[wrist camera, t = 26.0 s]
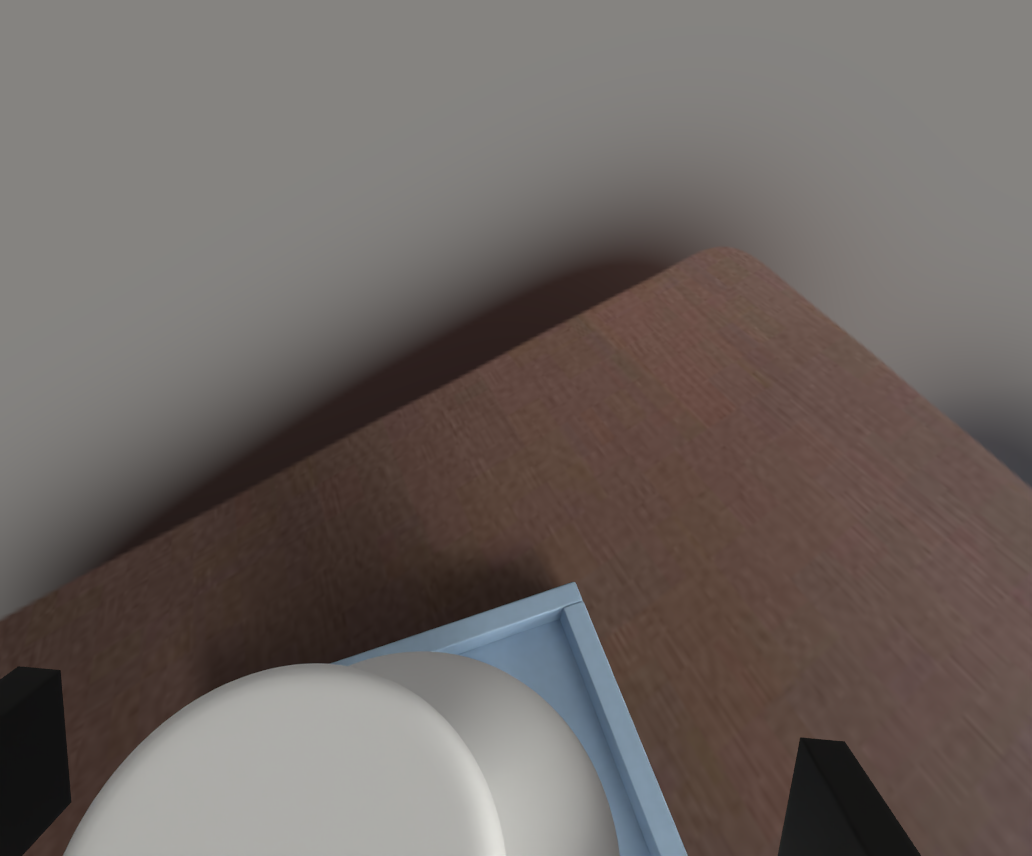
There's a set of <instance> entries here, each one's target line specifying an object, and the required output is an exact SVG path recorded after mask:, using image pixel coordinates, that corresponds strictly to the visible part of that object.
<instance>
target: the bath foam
mask: <svg viewBox="0 0 1032 856" xmlns="http://www.w3.org/2000/svg"><path fill="white" fill-rule="evenodd" d="M63 856H620V853H619V846H618V840H617V835H616V830H615V825H614V821H613V817H612V813H611V810H610V806H609V803H608V800H607V797H606V794H605V791H604V789H603V786H602V783H601V781H600V779H599V776H598V774H597V772H596V770H595V768H594V766H593V764H592V762H591V760H590V758H589V756H588V754H587V753H586V751H585V749H584V748H583V746H582V744H581V743H580V741H579V740H578V738H577V737H576V735H575V734H574V732H573V731H572V730H571V728H570V727H569V726H568V725H567V723H566V722H565V721H564V720H563V718H562V717H561V716H560V715H559V714H558V713H557V712H556V711H555V710H554V709H553V708H552V707H551V705H549V704H548V703H547V702H546V701H545V700H544V699H543V698H542V697H541V696H540V695H538V694H537V693H536V692H535V691H533V690H532V689H531V688H529V687H528V686H527V685H525V684H524V683H522V682H521V681H519V680H518V679H516V678H514V677H513V676H511V675H509V674H508V673H506V672H504V671H502V670H500V669H498V668H496V667H494V666H491V665H489V664H486V663H484V662H481V661H478V660H475V659H472V658H468V657H464V656H460V655H455V654H449V653H442V652H428V651H418V652H403V653H394V654H388V655H383V656H378V657H374V658H370V659H367V660H364V661H360V662H358V663H355V664H352V665H350V666H343V665H335V664H321V663H311V664H296V665H288V666H282V667H277V668H272V669H268V670H264V671H260V672H257V673H254V674H250V675H248V676H245V677H242V678H239V679H237V680H234V681H231V682H229V683H227V684H225V685H222V686H220V687H218V688H216V689H214V690H212V691H210V692H209V693H207V694H205V695H203V696H201V697H200V698H198V699H196V700H195V701H193V702H192V703H190V704H188V705H187V706H185V707H184V708H182V709H181V710H180V711H178V712H177V713H175V714H174V715H173V716H171V717H170V718H169V719H168V720H166V721H165V722H164V723H163V724H161V725H160V726H159V727H158V728H157V729H155V730H154V731H153V732H152V733H151V734H150V735H149V736H148V737H147V738H146V739H145V740H144V741H143V742H141V743H140V744H139V745H138V746H137V747H136V748H135V750H134V751H133V752H132V753H131V754H130V755H129V756H128V757H127V758H126V759H125V760H124V761H123V763H122V764H121V765H120V766H119V767H118V769H117V770H116V771H115V772H114V773H113V775H112V776H111V777H110V778H109V780H108V781H107V782H106V784H105V785H104V786H103V788H102V789H101V791H100V792H99V793H98V795H97V796H96V798H95V799H94V801H93V802H92V804H91V805H90V807H89V808H88V810H87V812H86V813H85V815H84V817H83V818H82V820H81V822H80V823H79V825H78V827H77V829H76V831H75V833H74V834H73V836H72V838H71V840H70V842H69V844H68V846H67V848H66V850H65V853H64V855H63Z"/></svg>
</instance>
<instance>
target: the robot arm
mask: <svg viewBox="0 0 1032 856" xmlns="http://www.w3.org/2000/svg"><path fill="white" fill-rule="evenodd" d="M70 803H71V793H70V781H69V769H68V756H67V744H66V732H65V720H64V707H63V695H62V683H61V670H52V669H41V668H31V667H20V666H18V667H17V668H16V669H14V670H13V671H11V672H10V673H9V674H7V675H6V676H4V677H3V678H2V679H0V856H22V855H23V854H24V853H25V852H26V851H27V850H28V849H29V848H30V846H31V845H32V844H33V843H34V842H35V841H36V840H37V839H38V838H39V837H40V836H41V834H42V833H43V832H44V831H45V830H46V829H47V828H48V827H49V826H50V825H51V824H52V822H53V821H54V820H55V819H56V818H57V817H58V816H59V815H60V814H61V813H62V812H63V810H64V809H65V808H66V807H67V806H68V805H69V804H70ZM778 856H921V855H920V853H919V852H918V850H917V849H916V847H915V846H914V844H913V843H912V841H911V840H910V838H909V837H908V835H907V834H906V832H905V831H904V830H903V828H902V827H901V825H900V824H899V822H898V821H897V819H896V818H895V816H894V815H893V813H892V812H891V810H890V809H889V807H888V806H887V804H886V803H885V801H884V800H883V798H882V797H881V795H880V794H879V792H878V791H877V789H876V788H875V786H874V785H873V783H872V782H871V780H870V779H869V777H868V776H867V774H866V773H865V771H864V770H863V768H862V767H861V765H860V764H859V762H858V761H857V759H856V758H855V756H854V755H853V753H852V752H851V750H850V749H849V747H848V746H847V744H846V743H845V742H843V741H832V740H821V739H810V738H800V742H799V747H798V753H797V758H796V763H795V768H794V774H793V779H792V784H791V789H790V795H789V800H788V805H787V810H786V816H785V821H784V826H783V831H782V837H781V842H780V847H779V852H778Z"/></svg>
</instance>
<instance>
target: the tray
mask: <svg viewBox="0 0 1032 856" xmlns="http://www.w3.org/2000/svg"><path fill="white" fill-rule="evenodd" d="M418 651H428V652H442V653H449V654H455V655H460V656H464V657H468V658H472V659H475V660H478V661H481V662H484V663H486V664H489V665H491V666H494V667H496V668H498V669H500V670H502V671H504V672H506V673H508V674H509V675H511V676H513V677H514V678H516V679H518V680H519V681H521V682H522V683H524V684H525V685H527V686H528V687H529V688H531V689H532V690H533V691H535V692H536V693H537V694H538V695H540V696H541V697H542V698H543V699H544V700H545V701H546V702H547V703H548V704H549V705H551V707H552V708H553V709H554V710H555V711H556V712H557V713H558V714H559V715H560V716H561V717H562V718H563V720H564V721H565V722H566V723H567V725H568V726H569V727H570V728H571V730H572V731H573V732H574V734H575V735H576V737H577V738H578V740H579V741H580V743H581V744H582V746H583V748H584V749H585V751H586V753H587V754H588V756H589V758H590V760H591V762H592V764H593V766H594V768H595V770H596V772H597V774H598V776H599V779H600V781H601V783H602V786H603V789H604V791H605V794H606V797H607V800H608V803H609V806H610V810H611V813H612V817H613V821H614V825H615V830H616V835H617V840H618V846H619V853H620V856H688V855H687V853H686V850H685V848H684V846H683V843H682V841H681V838H680V836H679V833H678V831H677V829H676V826H675V824H674V821H673V819H672V816H671V814H670V811H669V809H668V807H667V804H666V802H665V799H664V797H663V794H662V792H661V790H660V787H659V785H658V782H657V780H656V777H655V775H654V773H653V770H652V768H651V765H650V763H649V760H648V758H647V755H646V753H645V751H644V748H643V746H642V743H641V741H640V738H639V736H638V734H637V731H636V729H635V726H634V724H633V721H632V719H631V716H630V714H629V712H628V709H627V707H626V704H625V702H624V699H623V697H622V695H621V692H620V690H619V687H618V685H617V682H616V680H615V677H614V675H613V673H612V670H611V668H610V665H609V663H608V660H607V658H606V656H605V653H604V651H603V648H602V646H601V643H600V641H599V638H598V636H597V634H596V631H595V629H594V626H593V624H592V621H591V619H590V617H589V614H588V612H587V609H586V607H585V604H584V602H583V601H582V597H581V595H580V593H579V590H578V588H577V585H576V583H575V582H571V583H568V584H565V585H562V586H559V587H556V588H553V589H550V590H548V591H545V592H542V593H539V594H536V595H533V596H530V597H527V598H524V599H521V600H518V601H515V602H512V603H509V604H506V605H503V606H500V607H497V608H494V609H491V610H488V611H485V612H482V613H479V614H476V615H473V616H470V617H467V618H464V619H461V620H458V621H455V622H452V623H449V624H446V625H443V626H440V627H437V628H435V629H432V630H429V631H426V632H423V633H420V634H417V635H414V636H411V637H408V638H405V639H402V640H399V641H396V642H393V643H390V644H387V645H384V646H381V647H378V648H375V649H372V650H369V651H366V652H363V653H360V654H357V655H354V656H351V657H348V658H345V659H342V660H339V661H336V662H333V663H330V664H335V665H343V666H350V665H352V664H355V663H358V662H360V661H364V660H367V659H370V658H374V657H378V656H383V655H388V654H394V653H403V652H418Z"/></svg>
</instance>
